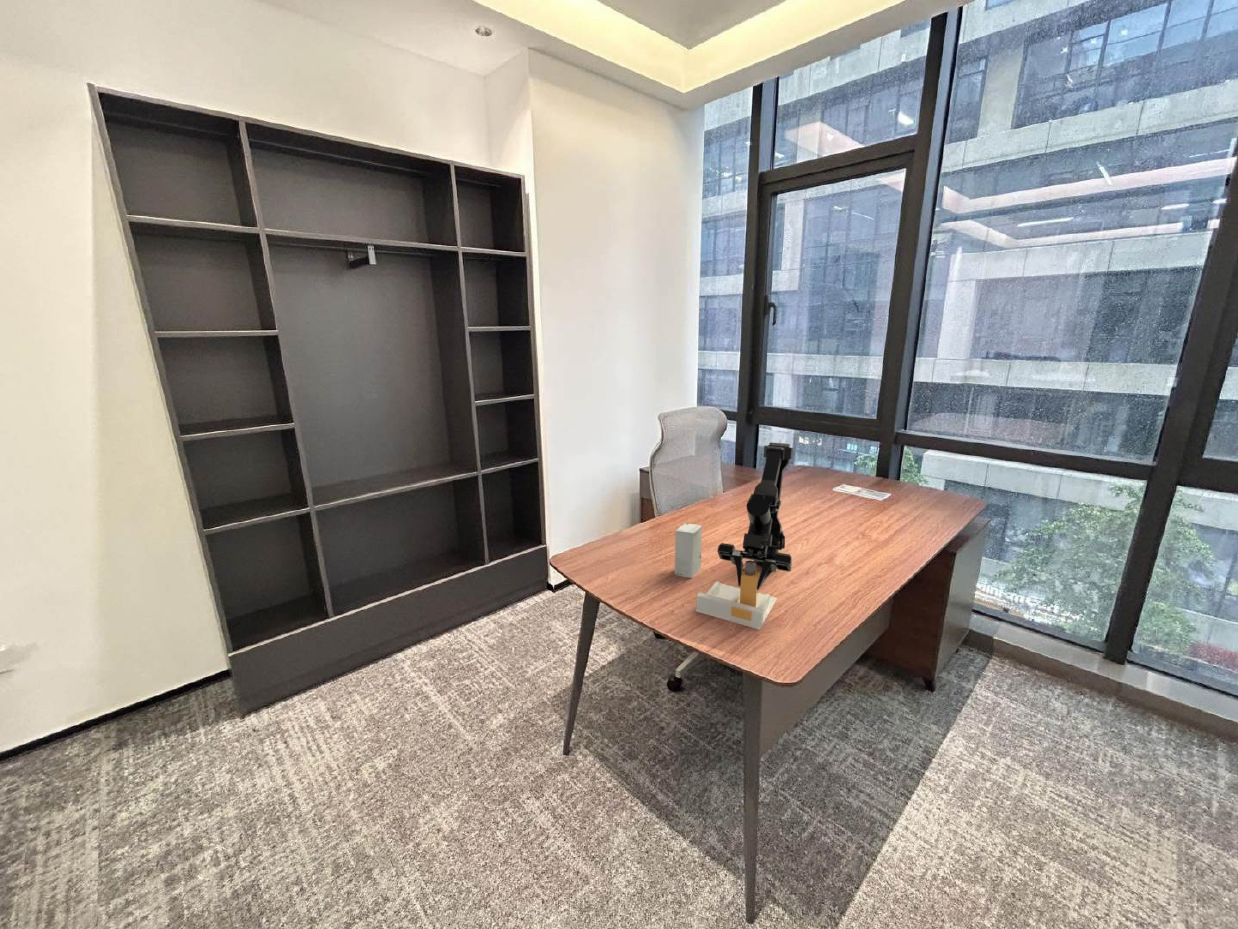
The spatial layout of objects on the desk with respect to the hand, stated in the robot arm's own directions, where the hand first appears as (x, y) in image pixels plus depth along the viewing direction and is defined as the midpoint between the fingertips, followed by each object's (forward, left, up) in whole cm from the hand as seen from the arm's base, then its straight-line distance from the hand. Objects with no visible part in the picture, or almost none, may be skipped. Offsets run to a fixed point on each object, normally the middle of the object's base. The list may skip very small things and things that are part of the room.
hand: (748, 587), depth 129 cm
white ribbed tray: (-2, -5, -8) cm, 9 cm away
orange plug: (-1, -1, -7) cm, 7 cm away
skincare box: (-5, -27, -8) cm, 29 cm away
